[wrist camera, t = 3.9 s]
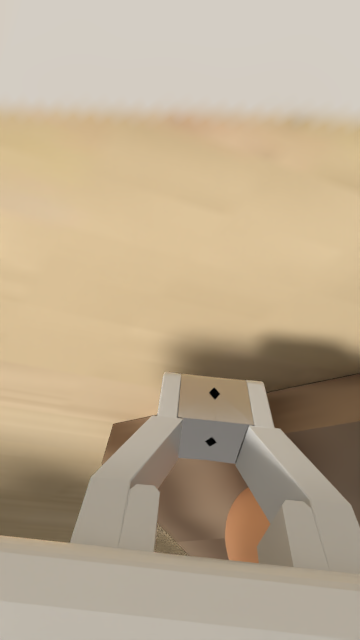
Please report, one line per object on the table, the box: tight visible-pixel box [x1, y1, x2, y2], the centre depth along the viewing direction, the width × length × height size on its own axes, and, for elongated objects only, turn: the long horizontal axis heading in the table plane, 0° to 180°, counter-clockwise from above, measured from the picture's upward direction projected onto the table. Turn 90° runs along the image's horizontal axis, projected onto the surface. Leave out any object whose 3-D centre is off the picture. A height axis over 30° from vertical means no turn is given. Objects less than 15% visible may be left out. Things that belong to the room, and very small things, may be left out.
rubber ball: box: [225, 487, 270, 563], centre depth 14 cm, size 5×5×5 cm
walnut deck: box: [102, 374, 360, 560], centre depth 20 cm, size 16×20×2 cm
